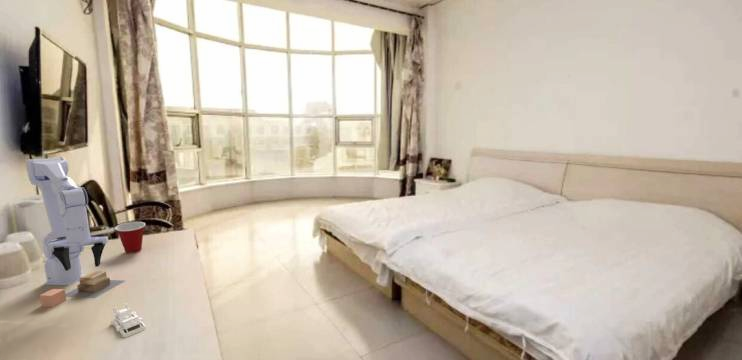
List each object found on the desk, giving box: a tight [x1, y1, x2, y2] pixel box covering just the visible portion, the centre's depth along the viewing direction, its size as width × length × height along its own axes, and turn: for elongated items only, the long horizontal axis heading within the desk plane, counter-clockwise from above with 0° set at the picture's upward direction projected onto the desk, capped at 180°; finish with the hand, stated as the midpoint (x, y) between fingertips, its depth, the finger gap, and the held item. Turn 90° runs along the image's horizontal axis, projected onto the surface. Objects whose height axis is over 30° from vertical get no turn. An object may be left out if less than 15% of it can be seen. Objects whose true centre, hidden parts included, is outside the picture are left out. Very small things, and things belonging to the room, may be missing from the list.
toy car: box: [110, 302, 147, 338], centre depth 94 cm, size 6×12×4 cm, turn 51°
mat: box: [65, 279, 125, 299], centre depth 115 cm, size 12×12×1 cm
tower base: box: [76, 277, 111, 293], centre depth 114 cm, size 6×6×2 cm
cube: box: [39, 288, 67, 308], centre depth 105 cm, size 4×4×4 cm
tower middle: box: [78, 270, 108, 285], centre depth 114 cm, size 5×5×2 cm
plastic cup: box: [114, 221, 146, 254], centre depth 147 cm, size 11×11×12 cm
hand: (83, 267), depth 108 cm, fingers open, 7 cm apart
